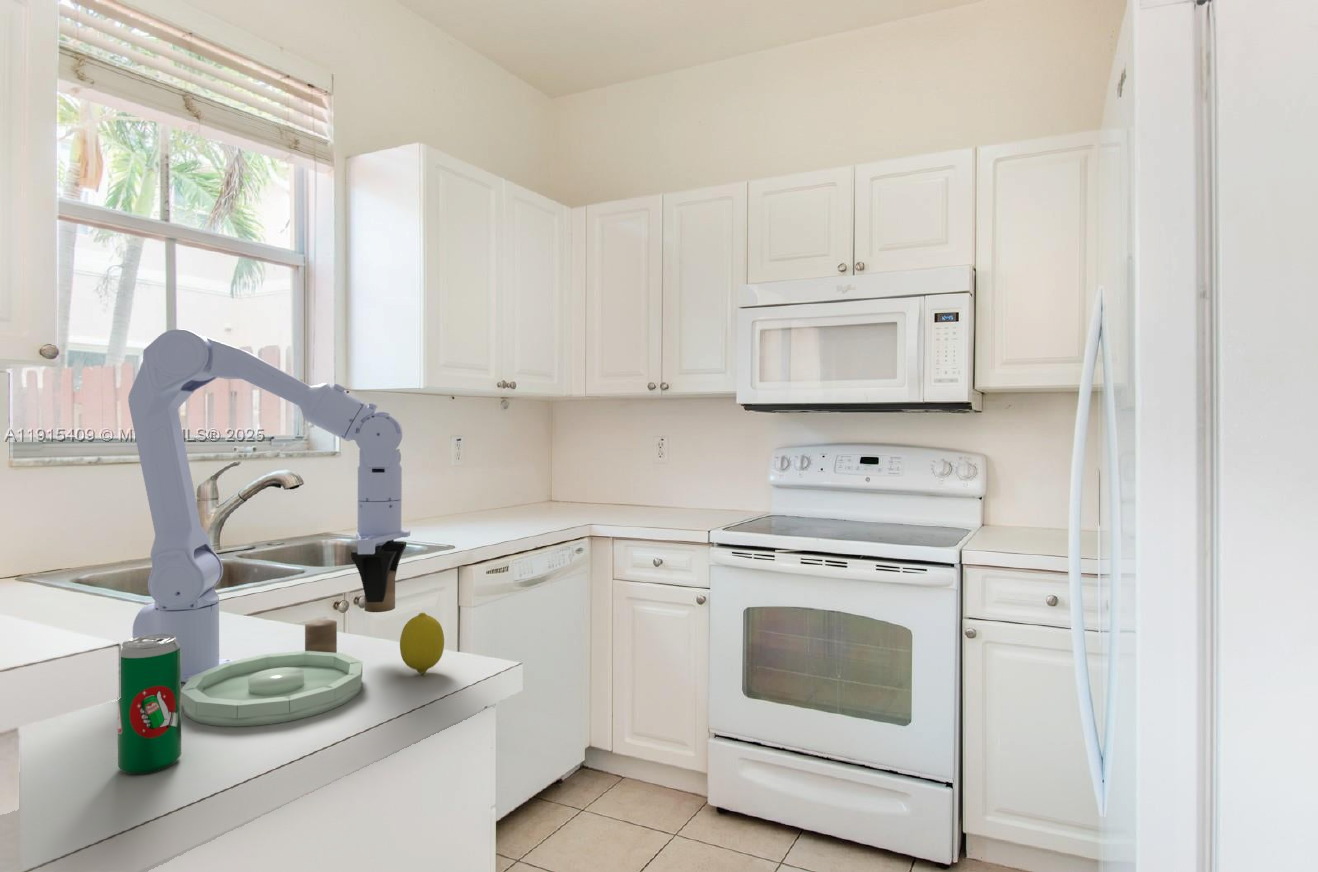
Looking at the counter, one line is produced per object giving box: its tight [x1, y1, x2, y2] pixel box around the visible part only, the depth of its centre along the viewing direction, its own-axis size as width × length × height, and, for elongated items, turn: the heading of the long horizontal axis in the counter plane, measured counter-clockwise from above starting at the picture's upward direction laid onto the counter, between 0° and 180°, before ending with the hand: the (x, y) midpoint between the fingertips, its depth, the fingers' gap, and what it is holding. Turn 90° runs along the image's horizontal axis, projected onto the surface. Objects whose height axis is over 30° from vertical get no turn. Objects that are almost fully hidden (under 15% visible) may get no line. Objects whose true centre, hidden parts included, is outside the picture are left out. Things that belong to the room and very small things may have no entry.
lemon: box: [399, 612, 445, 675], centre depth 101 cm, size 6×6×8 cm
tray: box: [181, 650, 363, 727], centre depth 93 cm, size 19×19×2 cm
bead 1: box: [304, 619, 338, 653], centre depth 106 cm, size 4×4×5 cm
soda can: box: [117, 634, 182, 776], centre depth 74 cm, size 5×5×12 cm
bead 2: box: [364, 570, 396, 613], centre depth 107 cm, size 4×4×5 cm
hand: (379, 597), depth 107 cm, fingers closed on bead 2, 4 cm apart
